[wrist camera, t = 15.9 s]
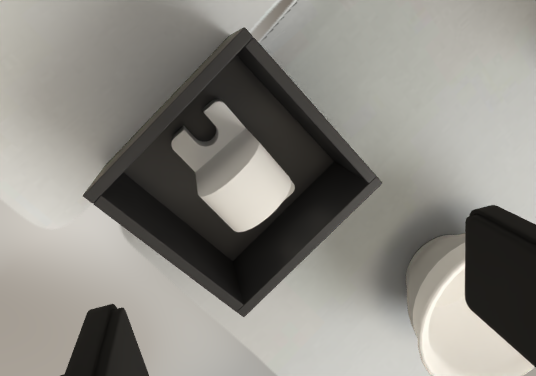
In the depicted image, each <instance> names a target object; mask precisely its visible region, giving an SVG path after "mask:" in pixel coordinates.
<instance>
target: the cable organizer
mask: <svg viewBox="0 0 536 376" xmlns="http://www.w3.org/2000/svg"><path fill="white" fill-rule="evenodd" d="M202 110H203V112H204V114H205V115H206V116H207V117H208V118H209V119H210V120H211V121H212V122H213V124H214V125H215V126H216V134H215V136H214V137H213V139H211V140H210V141H207V142H202V141H199V140H197V139H196V138H195V137H194V136H193V135H192V134H191V133H190V132H189V131H188V130H187V129H186V128H185V126H183V127H182V128H181V129H179V130H178V131H177V132H176V133H175V134H174V135H173V137H172V143H171V145H172V149H173V150H174V151H175V152H176V153H177V154H178V155H179V156H180V157H181V158H182V159H183V160H184V161H185V162H186V163H187V164H188V165H189V166H190V167H191V168H192V169H193V170H194V172H195V174H196V182H197V191H198V195H199V196H200V197H201V198H202V199H203V200H204V201H205V202H206V203H207V204H208V205H209V206H210V207H211V208H212V209H213V210H214V211H215V212H216V213H217V214H218V215H219V216H220V217H221V218H222V219H223V220H224V221H225V222H226V223H227V224H228V225H229V226H230V227H231V228H232V229H233V230H234V231H236V232H244V231H247V230H249V229H252V228H253V227H255V226H257V225H258V224H260V223H261V222H263V221H264V220H265V219H267V218H268V217H269V216H270V215H271V214H272V213H273V212H274V211H275V210H276V209H277V208H278V207H279V206H280V204H281V203H282V202H283V201H284V200H285V199H286V198H287V197H289V196H290V195H291V194H292V193H293V192H294V190H295V185H294V183H293V182H292V181H291V180H290V177H289V176H288V175H287V174H286V173H285V172H284V170H283V169H282V168H281V167H280V166H279V165H278V163H277V162H276V161H275V160H274V159H273V158H272V156H271V155H270V154H269V153H268V152H267V151H266V149H265V148H264V147H263V146H262V145H261V144H260V142H259V141H258V140H257V139H256V138H255V137H254V136H253V135H252V134H251V133H250V132H249V131H248V130H247V129H246V128H245V126H244V125H243V124H242V123H241V122H240V121H239V120H238V118H237V117H236V116H235V115H234V114H233V113H232V111H231V110H230V109H229V108H228V107H227V106H226V104H225V103H224V102H223V101H221V100H219V99H214V100H212V101H211V102H210V103H209V104H208V105H206V106H205V107H204V108H203V109H202Z"/></svg>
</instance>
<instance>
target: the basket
mask: <svg viewBox="0 0 536 376" xmlns="http://www.w3.org/2000/svg"><path fill="white" fill-rule="evenodd" d="M214 99H219V100H221V101H223V102H224V103H225V104H226V106H227V107H228V108H229V109H230V110H231V111H232V113H233V114H234V115H235V116H236V117H237V118H238V120H239V121H240V122H241V123H242V124H243V125H244V126H245V128H246V129H247V130H248V131H249V132H250V133H251V134H252V135H253V136H254V137H255V138H256V139H257V140H258V141H259V142H260V144H261V145H262V146H263V147H264V148H265V149H266V151H267V152H268V153H269V154H270V155H271V156H272V158H273V159H274V160H275V161H276V162H277V163H278V165H279V166H280V167H281V168H282V169H283V170H284V172H285V173H286V174H287V175H288V176H289V177H290V180H291V181H292V182H293V183H294V185H295V190H294V192H293V193H292V194H291V195H290V196H289V197H287V198H286V199H285V200H284V201H283V202H282V203H281V204H280V206H279V207H278V208H277V209H276V210H275V211H274V212H273V213H272V214H271V215H270V216H269V217H268V218H267V219H265V220H264V221H263V222H261V223H260V224H258V225H257V226H255V227H253V228H252V229H249V230H247V231H244V232H236V231H234V230H233V229H232V228H231V227H230V226H229V225H228V224H227V223H226V222H225V221H224V220H223V219H222V218H221V217H220V216H219V215H218V214H217V213H216V212H215V211H214V210H213V209H212V208H211V207H210V206H209V205H208V204H207V203H206V202H205V201H204V200H203V199H202V198H201V197H200V196H199V195H198V191H197V182H196V174H195V172H194V170H193V169H192V168H191V167H190V166H189V165H188V164H187V163H186V162H185V161H184V160H183V159H182V158H181V157H180V156H179V155H178V154H177V153H176V152H175V151H174V150H173V149H172V145H171V143H172V137H173V135H174V134H175V133H176V132H177V131H178V130H179V129H181V128H182V127H183V126H185V128H186V129H187V130H188V131H189V132H190V133H191V134H192V135H193V136H194V137H195V138H196V139H197V140H199V141H202V142H207V141H210V140H211V139H213V137H214V136H215V134H216V126H215V125H214V124H213V122H212V121H211V120H210V119H209V118H208V117H207V116H206V115H205V114H204V112H203V110H202V109H203V108H204V107H205V106H206V105H208V104H209V103H210V102H211V101H212V100H214ZM381 184H382V182H381V181H380V180H379V178H378V177H377V176H376V175H375V174H374V173H373V172H372V170H371V169H370V168H369V167H368V166H367V165H366V164H365V163H364V161H363V160H362V159H361V158H360V157H359V156H358V155H357V153H356V152H355V151H354V150H353V149H352V148H351V147H350V146H349V144H348V143H347V142H346V141H345V140H344V139H343V138H342V137H341V135H340V134H339V133H338V132H337V131H336V130H335V129H334V128H333V126H332V125H331V124H330V123H329V122H328V121H327V120H326V118H325V117H324V116H323V115H322V114H321V113H320V112H319V111H318V109H317V108H316V107H315V106H314V105H313V104H312V103H311V102H310V100H309V99H308V98H307V97H306V96H305V95H304V94H303V92H302V91H301V90H300V89H299V88H298V87H297V86H296V85H295V83H294V82H293V81H292V80H291V79H290V78H289V77H288V76H287V74H286V73H285V72H284V71H283V70H282V69H281V68H280V66H279V65H278V64H277V63H276V62H275V61H274V60H273V59H272V57H271V56H270V55H269V54H268V53H267V52H266V51H265V50H264V48H263V47H262V46H261V45H260V44H259V43H258V42H257V41H256V39H255V38H253V37H252V35H251V34H250V33H249V32H248V30H247V29H246V28H242V29H240V30H239V31H237V32H235V33H233V34H231V35H230V36H229V37H228V38H227V39H226V40H225V41H224V42H223V43H222V44H221V45H220V46H219V47H218V48H217V49H216V50H215V51H214V52H213V53H212V54H211V55H210V56H209V57H208V59H207V60H206V61H205V62H204V63H203V64H202V65H201V66H200V67H199V68H198V69H197V70H196V71H195V72H194V73H193V74H192V75H191V76H190V77H189V78H188V79H187V81H186V82H185V83H184V84H183V85H182V86H181V87H180V88H179V89H178V90H177V91H176V92H175V93H174V94H173V95H172V96H171V97H170V98H169V99H168V100H167V101H166V102H165V104H164V105H163V106H162V107H161V108H160V109H159V110H158V111H157V112H156V113H155V114H154V115H153V116H152V117H151V118H150V119H149V120H148V121H147V122H146V123H145V124H144V126H143V127H142V128H141V129H140V130H139V131H138V132H137V133H136V134H135V135H134V136H133V137H132V138H131V139H130V140H129V141H128V142H127V143H126V144H125V145H124V146H123V147H122V149H121V150H120V151H119V152H118V153H117V154H116V155H115V156H114V157H113V158H112V159H111V160H110V161H109V162H108V163H107V164H106V165H105V167H104V168H103V169H102V171H101V172H100V173H99V175H98V176H97V177H96V179H95V180H94V181H93V183H92V184H91V185H90V187H89V188H88V189H87V191H86V192H85V193H84V195H83V196H84V197H85V198H86V199H87V200H89V201H90V202H91V203H94V205H95V206H97V207H98V208H99V209H100V210H102V211H103V212H104V213H106V214H107V215H108V216H110V217H111V218H112V219H114V220H115V221H116V222H118V223H119V224H120V225H122V226H123V227H124V228H126V229H127V230H128V231H130V232H131V233H132V234H134V235H135V236H136V237H138V238H139V239H140V240H142V241H143V242H144V243H146V244H147V245H148V246H150V247H151V248H152V249H154V250H155V251H156V252H157V253H159V254H160V255H161V256H163V257H164V258H165V259H167V260H168V261H169V262H171V263H172V264H173V265H175V266H176V267H177V268H179V269H180V270H181V271H183V272H184V273H185V274H187V275H188V276H189V277H191V278H192V279H193V280H195V281H196V282H197V283H199V284H200V285H201V286H203V287H204V288H205V289H207V290H208V291H209V292H211V293H212V294H213V295H215V296H216V297H217V298H219V299H220V300H221V301H223V302H224V303H225V304H227V305H228V306H229V307H231V308H232V309H233V310H235V311H236V312H237V313H239V314H240V315H241V316H243V317H245V316H246V315H247V314H248V313H249V312H250V311H251V310H252V309H253V308H254V307H255V306H256V305H257V304H258V303H259V302H260V301H261V300H262V299H263V298H264V297H265V296H266V295H267V294H268V293H270V292H271V291H272V290H273V289H274V288H275V287H276V286H277V285H278V284H279V283H280V282H281V281H282V280H283V279H284V278H285V277H286V276H287V275H288V274H289V273H290V272H291V271H292V270H293V269H294V268H295V267H296V266H297V265H298V264H299V263H300V262H302V261H303V260H304V259H305V258H306V257H307V256H308V255H309V254H310V253H311V252H312V251H313V250H314V249H315V248H316V247H317V246H318V245H319V244H320V243H321V242H322V241H323V240H324V239H325V238H326V237H327V236H328V235H329V234H330V233H331V232H333V231H334V230H335V229H336V228H337V227H338V226H339V225H340V224H341V223H342V222H343V221H344V220H345V219H346V218H347V217H348V216H349V215H350V214H351V213H352V212H353V211H354V210H355V209H356V208H357V207H358V206H359V205H360V204H361V203H362V202H363V201H365V200H366V199H367V198H368V197H369V196H370V195H371V194H372V193H373V192H374V191H375V190H376V189H377V188H378V187H379V186H380V185H381Z"/></svg>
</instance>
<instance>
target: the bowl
mask: <svg viewBox="0 0 536 376" xmlns="http://www.w3.org/2000/svg"><path fill="white" fill-rule="evenodd" d="M406 286H407V306H408V314H409V318H410V322H411V324H412V327H413V329H414V331H415V334H416V336H417V338H418V349H419V353H420V357H421V360H422V362H423V364H424V366H425V368H426V369H427V371H428V372H429V373H430V374H431V375H432V376H523V375H524V374H526V373H527V372H529V371H530V370H532V369H533V368H534V366H533V365H532V364H531V363H530V362H529V361H528V360H527V359H525V358H524V357H523V356H522V355H521V354H520V353H519V352H518V351H516V350H515V349H514V348H513V347H512V346H511V345H510V344H509V343H507V342H506V341H505V340H504V339H503V338H502V337H501V336H500V335H498V334H497V333H496V332H495V331H494V330H493V329H492V328H491V327H489V326H488V325H487V324H486V323H485V322H484V321H483V320H482V319H480V318H479V317H478V316H477V315H476V314H475V313H474V312H472V311H471V310H470V308H469V307H468V305H467V303H466V301H465V233H464V234H459V235H444V236H440V237H437V238H435V239H432V240H431V241H429V242H428V243H426V244H425V245H424V246H422V247H421V248H420V249H419V250H418V251H417V253H416V254H415V255H414V256H413V258H412V260H411V261H410V263H409V266H408V269H407V273H406Z"/></svg>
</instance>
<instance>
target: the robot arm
mask: <svg viewBox="0 0 536 376" xmlns="http://www.w3.org/2000/svg"><path fill="white" fill-rule="evenodd" d="M465 301H466V303H467V305H468V307H469V308H470V310H471V311H472V312H474V313H475V314H476V315H477V316H478V317H479V318H480V319H482V320H483V321H484V322H485V323H486V324H487V325H488V326H489V327H491V328H492V329H493V330H494V331H495V332H496V333H497V334H498V335H500V336H501V337H502V338H503V339H504V340H505V341H506V342H507V343H509V344H510V345H511V346H512V347H513V348H514V349H515V350H516V351H518V352H519V353H520V354H521V355H522V356H523V357H524V358H525V359H527V360H528V361H529V362H530V363H531V364H532V365H533V366H534V367H536V225H535V224H533V223H531V222H529V221H527V220H525V219H523V218H521V217H519V216H517V215H515V214H513V213H511V212H508V211H506V210H504V209H502V208H500V207H498V206H495V205H491V206H487V207H483V208H479V209H475V210H473V211H471V213H470V216H469V217H468V218H467V219H466V226H465ZM61 376H149V374H148V371H147V369H146V366H145V363H144V360H143V358H142V355H141V352H140V349H139V347H138V344H137V341H136V338H135V336H134V333H133V330H132V327H131V325H130V322H129V319H128V316H127V314H126V311H125V310H124V308H119V309H117V307H116V306H115V305H114V304H111V305H107V306H103V307H99V308H95V309H91V310H89V311H88V313H87V315H86V318H85V320H84V323H83V326H82V328H81V331H80V334H79V337H78V339H77V342H76V345H75V347H74V350H73V353H72V356H71V358H70V361H69V364H68V367H67V369H66V372H65V374H64V375H61Z"/></svg>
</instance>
